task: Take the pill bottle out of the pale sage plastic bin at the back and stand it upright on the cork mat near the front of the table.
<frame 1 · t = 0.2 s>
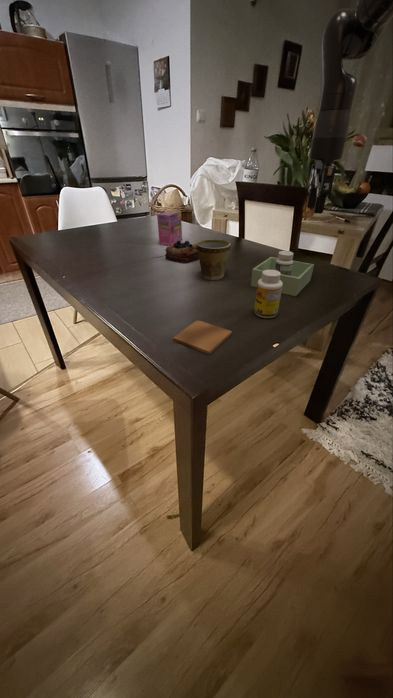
hand: (314, 210, 77), 19 cm above the table, tool pointing down, fingers open, 8 cm apart
cork mat: (202, 337, 60), on the table
bin: (281, 283, 83), on the table
pastry: (183, 258, 104), on the table
ceramic cup: (211, 275, 90), on the table
box: (171, 242, 121), on the table
supplement bottle: (265, 314, 68), on the table
pill bottle: (281, 282, 83), resting on bin
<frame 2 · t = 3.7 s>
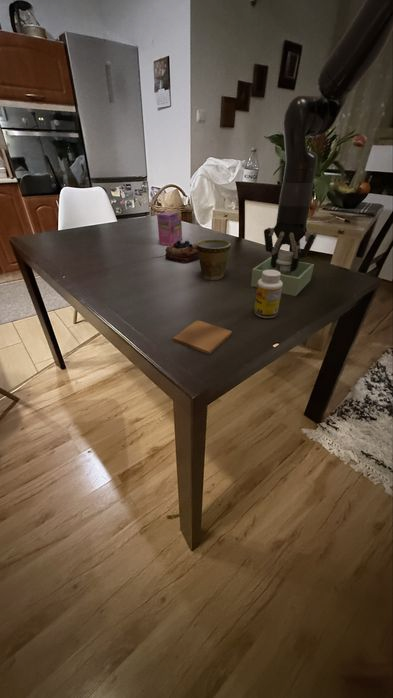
hand: (283, 268, 80), 4 cm above the table, tool pointing down, fingers closed on pill bottle, 4 cm apart
pill bottle: (281, 282, 83), resting on bin, touching gripper
everything else where it was.
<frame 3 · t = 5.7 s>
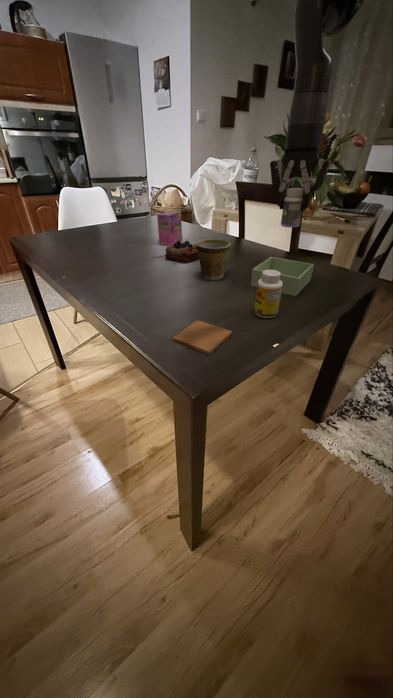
hand: (292, 209, 70), 20 cm above the table, tool pointing down, fingers closed on pill bottle, 4 cm apart
pill bottle: (289, 226, 73), point 16 cm above the table, touching gripper
everything else where it was.
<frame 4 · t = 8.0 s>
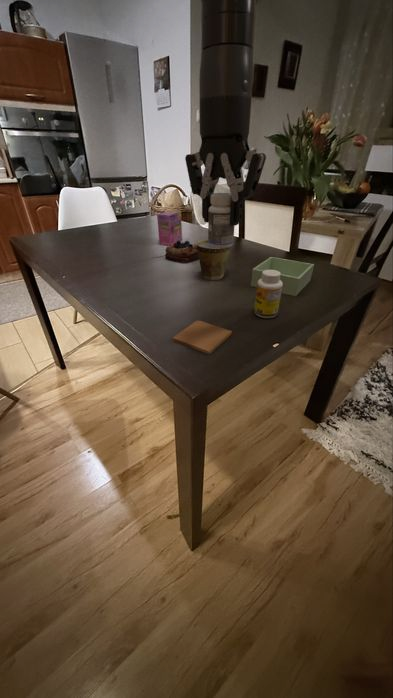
hand: (221, 222, 50), 22 cm above the table, tool pointing down, fingers closed on pill bottle, 4 cm apart
pill bottle: (220, 246, 53), point 18 cm above the table, touching gripper
everything else where it was.
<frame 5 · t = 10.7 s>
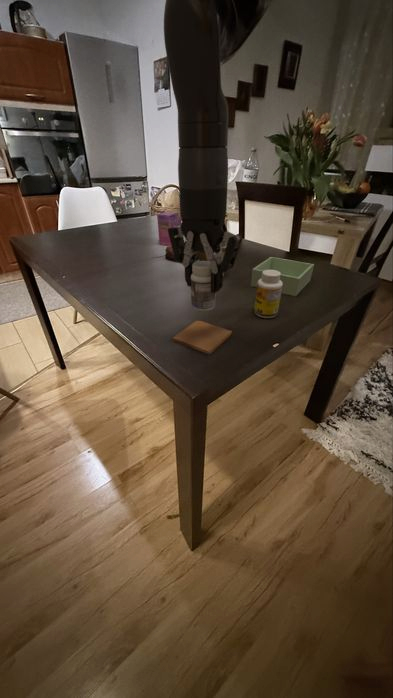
hand: (203, 287, 53), 11 cm above the table, tool pointing down, fingers closed on pill bottle, 4 cm apart
pill bottle: (203, 307, 55), point 7 cm above the table, touching gripper
everything else where it was.
when the fingers open (5 cm above the table, at t = 12.7 s): pill bottle stays where it is, resting on cork mat.
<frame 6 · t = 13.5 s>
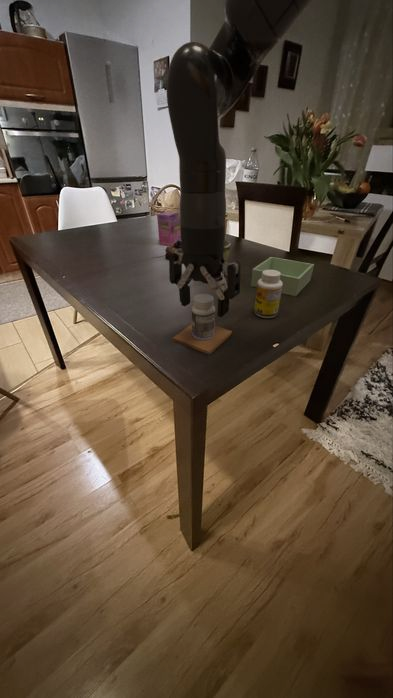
hand: (203, 309, 56), 7 cm above the table, tool pointing down, fingers open, 8 cm apart
pill bottle: (203, 335, 59), point 1 cm above the table, touching cork mat
everything else where it was.
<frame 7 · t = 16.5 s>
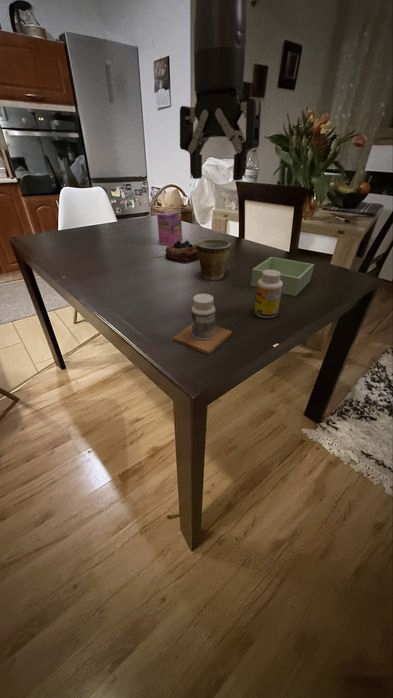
hand: (216, 179, 51), 28 cm above the table, tool pointing down, fingers open, 8 cm apart
nothing on the table moved.
at the end: pill bottle inside the target area on the cork mat (0.1 cm from its centre), point 0.6 cm above the cork mat's base; pill bottle tilted 0°; pill bottle touching cork mat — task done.
